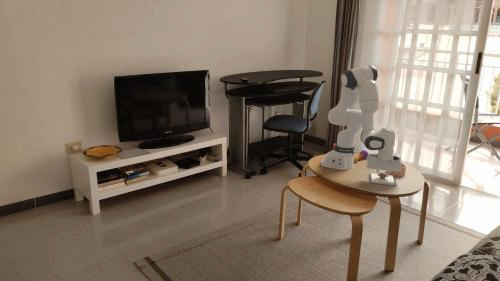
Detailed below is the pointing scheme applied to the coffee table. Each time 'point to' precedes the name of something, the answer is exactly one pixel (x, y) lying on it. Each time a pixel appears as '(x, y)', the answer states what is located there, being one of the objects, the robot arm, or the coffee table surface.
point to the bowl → (401, 173)
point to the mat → (382, 184)
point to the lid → (382, 179)
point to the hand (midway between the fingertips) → (382, 176)
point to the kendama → (361, 156)
